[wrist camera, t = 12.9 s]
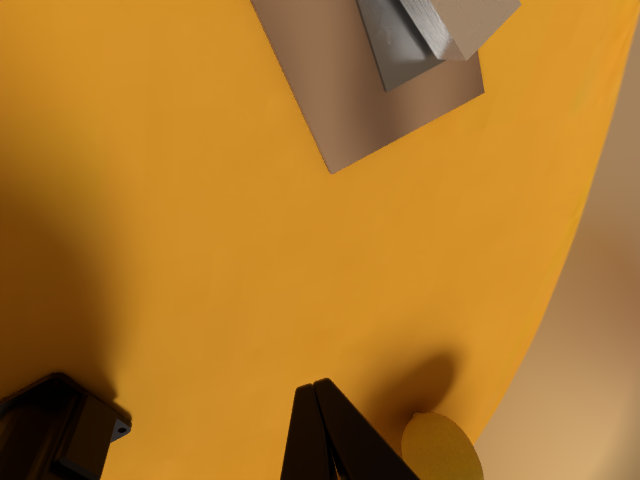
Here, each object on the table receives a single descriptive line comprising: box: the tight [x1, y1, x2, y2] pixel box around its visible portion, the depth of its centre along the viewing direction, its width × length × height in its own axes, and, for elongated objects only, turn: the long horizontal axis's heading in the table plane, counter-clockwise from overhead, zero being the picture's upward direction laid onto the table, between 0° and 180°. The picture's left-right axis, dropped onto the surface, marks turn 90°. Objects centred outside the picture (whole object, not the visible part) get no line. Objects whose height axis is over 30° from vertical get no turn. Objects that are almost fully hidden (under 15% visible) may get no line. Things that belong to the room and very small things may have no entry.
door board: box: [250, 0, 484, 174], centre depth 16 cm, size 9×12×1 cm
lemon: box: [401, 412, 484, 480], centre depth 28 cm, size 6×6×8 cm
